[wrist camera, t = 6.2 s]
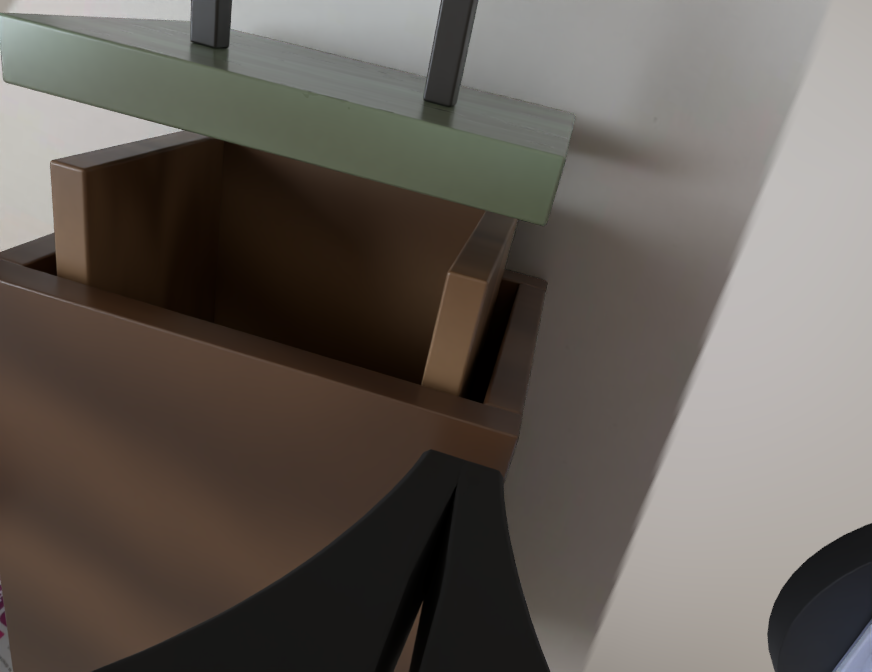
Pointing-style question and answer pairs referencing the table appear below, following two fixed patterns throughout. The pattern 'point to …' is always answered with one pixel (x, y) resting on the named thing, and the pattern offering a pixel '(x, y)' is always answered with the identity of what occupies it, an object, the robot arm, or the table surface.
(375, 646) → the robot arm
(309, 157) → the drawer
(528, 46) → the table surface
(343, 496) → the cabinet
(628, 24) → the table surface
